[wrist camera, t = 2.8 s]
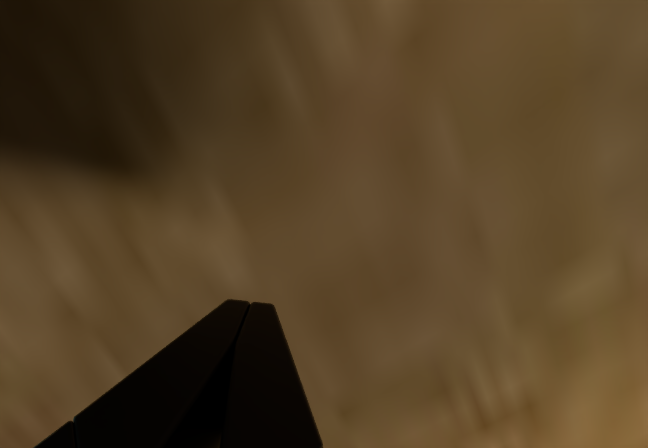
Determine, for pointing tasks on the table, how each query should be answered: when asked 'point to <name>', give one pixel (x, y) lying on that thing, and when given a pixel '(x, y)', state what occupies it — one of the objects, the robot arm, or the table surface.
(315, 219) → the table surface
